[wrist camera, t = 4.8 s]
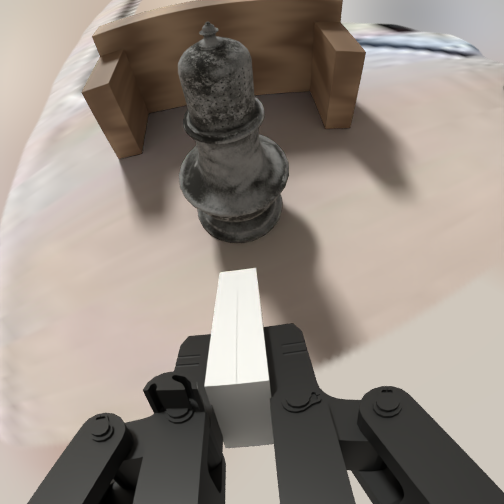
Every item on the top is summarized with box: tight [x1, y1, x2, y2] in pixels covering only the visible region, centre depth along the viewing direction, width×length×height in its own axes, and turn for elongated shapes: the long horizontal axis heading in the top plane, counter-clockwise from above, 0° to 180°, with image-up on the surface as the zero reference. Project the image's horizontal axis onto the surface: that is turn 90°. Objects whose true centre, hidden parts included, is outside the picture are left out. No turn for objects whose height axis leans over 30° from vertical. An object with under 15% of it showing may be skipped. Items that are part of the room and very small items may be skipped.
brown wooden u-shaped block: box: [82, 0, 366, 159], centre depth 19 cm, size 18×7×9 cm, turn 96°
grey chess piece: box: [178, 22, 289, 243], centre depth 14 cm, size 6×6×12 cm
